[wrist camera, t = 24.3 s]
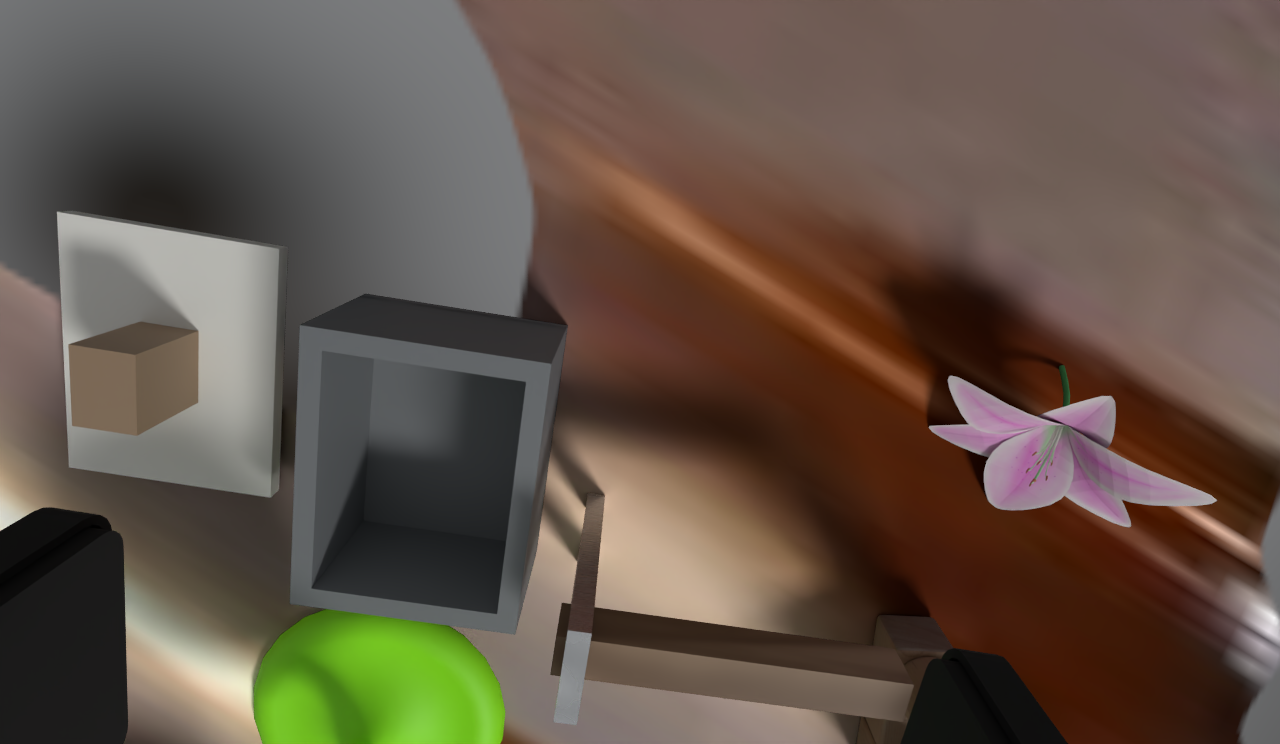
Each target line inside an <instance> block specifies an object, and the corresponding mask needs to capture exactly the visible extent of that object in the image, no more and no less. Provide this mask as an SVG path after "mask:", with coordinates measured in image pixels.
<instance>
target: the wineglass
mask: <svg viewBox="0 0 1280 744" xmlns="http://www.w3.org/2000/svg"><path fill="white" fill-rule="evenodd" d="M254 719H255V722H256V725H257V728H258V731H259V734H260V737H261V740H262V743H263V744H500V743H501V741H502V738H503V729H504V719H505V708H504V703H503V698H502V694H501V689H500V684H499V682H498V681H497V679H496V677H495V675H494V673H493V671H492V670H491V668H490V666H489V664H488V662H487V660H486V658H485V657H484V656H483V655H482V654H481V653H480V652H479V651H478V650H477V649H476V648H475V647H474V646H473V645H472V644H471V643H470V642H469V641H468V640H467V639H466V637H465V636H464V635H462V634H461V633H459V632H457V631H456V630H454V629H453V628H451V627H450V626H448V625H441V624H434V623H427V622H419V621H412V620H405V619H397V618H390V617H383V616H375V615H368V614H361V613H353V612H346V611H338V610H331V609H325V610H322V611H320V612H317V613H314V614H312V615H309V616H306V617H304V618H303V619H302V620H300V621H299V622H297V623H296V624H295V625H293V626H292V627H291V628H289V629H288V630H286V631H285V632H284V633H282V634H281V635H280V636H279V638H278V639H277V640H276V642H275V643H274V644H273V646H272V647H271V648H270V650H269V651H268V652H267V654H266V655H265V656H264V658H263V661H262V664H261V667H260V670H259V673H258V676H257V679H256V682H255V685H254Z"/></svg>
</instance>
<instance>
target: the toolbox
mask: <svg viewBox="0 0 1280 744" xmlns="http://www.w3.org/2000/svg"><path fill="white" fill-rule="evenodd" d="M567 327H568V325H561V324H555V323H549V322H542V321H536V320H529V319H523V318H517V317H510V316H504V315H497V314H491V313H485V312H478V311H472V310H466V309H459V308H453V307H447V306H440V305H433V304H427V303H421V302H415V301H408V300H401V299H395V298H389V297H383V296H376V295H370V294H364V295H362V296H360V297H358V298H356V299H353V300H351V301H349V302H347V303H345V304H343V305H341V306H339V307H337V308H335V309H332V310H330V311H328V312H326V313H324V314H322V315H320V316H318V317H316V318H314V319H312V320H309V321H307V322H305V323H303V324H301V325H300V332H299V333H300V334H299V361H298V387H297V415H296V443H295V471H294V499H293V527H292V554H291V582H290V604H294V605H302V606H309V607H316V608H324V609H331V610H338V611H346V612H353V613H361V614H368V615H375V616H383V617H390V618H397V619H405V620H412V621H419V622H427V623H434V624H441V625H449V626H456V627H463V628H471V629H478V630H486V631H493V632H500V633H508V634H515V633H516V629H517V625H518V622H519V618H520V614H521V610H522V606H523V602H524V598H525V594H526V591H527V587H528V583H529V579H530V575H531V571H532V567H533V563H534V560H535V556H536V552H537V545H538V537H539V530H540V523H541V516H542V508H543V501H544V494H545V487H546V479H547V472H548V465H549V458H550V450H551V443H552V436H553V429H554V421H555V414H556V407H557V400H558V392H559V385H560V378H561V371H562V363H563V356H564V349H565V342H566V334H567ZM604 500H605V495H600V494H593V493H588V496H587V503H586V509H585V516H584V523H583V529H582V536H581V543H580V548H579V554H578V560H577V567H576V574H575V581H574V587H573V594H572V601H571V611H570V617H569V624H568V631H567V638H566V644H565V650H564V657H563V663H562V670H561V676H560V681H559V688H558V695H557V701H556V708H555V715H554V722H557V723H564V724H572V725H577V720H578V714H579V708H580V702H581V696H582V690H583V684H584V678H585V672H586V666H587V660H588V654H589V648H590V642H591V636H592V627H593V616H594V605H595V595H596V584H597V574H598V563H599V553H600V542H601V532H602V521H603V511H604Z"/></svg>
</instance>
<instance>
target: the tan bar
mask: <svg viewBox="0 0 1280 744" xmlns="http://www.w3.org/2000/svg"><path fill="white" fill-rule="evenodd" d="M570 611H571V604H567V603H562V606H561V611H560V617H559V623H558V629H557V635H556V641H555V648H554V655H553V661H552V668H551V674H550V675H555V676H561V670H562V663H563V657H564V650H565V644H566V638H567V631H568V624H569V617H570ZM584 679H585V680H593V681H600V682H608V683H615V684H623V685H630V686H638V687H645V688H653V689H660V690H667V691H675V692H682V693H690V694H697V695H705V696H712V697H720V698H727V699H735V700H742V701H750V702H757V703H765V704H772V705H780V706H787V707H795V708H802V709H810V710H817V711H825V712H832V713H840V714H847V715H855V716H862V717H870V718H877V719H885V720H892V721H900V722H903V719H904V716H905V713H906V710H907V706H908V703H909V700H910V697H911V694H912V690H913V687H914V684H913V682H912V680H911V678H910V676H909V674H908V672H907V670H906V669H905V667H904V665H903V663H902V661H901V659H900V657H899V655H898V654H897V652H896V650H895V649H892V648H884V647H877V646H870V645H863V644H855V643H848V642H841V641H834V640H827V639H819V638H812V637H805V636H798V635H791V634H783V633H776V632H769V631H762V630H754V629H747V628H740V627H733V626H726V625H718V624H711V623H704V622H697V621H689V620H682V619H675V618H668V617H661V616H653V615H646V614H639V613H632V612H624V611H617V610H610V609H603V608H596V607H594V616H593V627H592V636H591V642H590V648H589V654H588V660H587V666H586V672H585V678H584Z"/></svg>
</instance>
